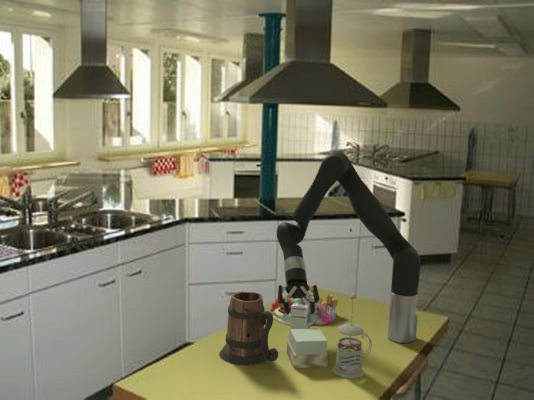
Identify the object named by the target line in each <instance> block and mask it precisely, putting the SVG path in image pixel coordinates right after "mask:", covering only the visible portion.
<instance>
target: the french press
mask: <svg viewBox="0 0 534 400" xmlns="http://www.w3.org/2000/svg"><path fill="white" fill-rule="evenodd" d="M349 299H351V300H356V299H357V296H356V294H354V293H353V294H350V296H349ZM351 308H352V309H351V313H354V312H353V311H354V310H353V309H354V302H352V306H351ZM350 318H351V320H350V323H344V324H341V325H339V326H338V327H337V330H338V332H339V333H340V334H342V335H344V336H349V337H342V338H340V339H338V344H336V346H337V347H336V361H335V362H336V365H335V366H334V367H333V368H332V372H333V373H334V374H335V375H336V376H338V377H340V378H344V379H345V378H346V379H358V377H359V378H361V377H363V376H364V374H365V371H364V370H363V367H362V366H363V358H365V357H366V356H368V355H369V354H370V353H371V351H372V348H373V343H372V339H371V338H370V335H368V334H367V333H365V330H364V328H363V327H361V325H358V324H356V323H353V317H350ZM358 336H361V338H362V339H364V337H367V338H368V341H369V343H370V344H369V346H368V348H367V350H366V351H365V352H364V353H363V348H362V344H363V343H362V341H361V339H358V338H355V337H358ZM342 348H343V349H342ZM366 353H367V354H366ZM365 354H366V355H365ZM362 375H363V376H362Z"/></svg>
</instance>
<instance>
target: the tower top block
mask: <svg viewBox="0 0 534 400" xmlns="http://www.w3.org/2000/svg"><path fill="white" fill-rule="evenodd" d="M289 343H290V345H291V347H292V349H293V351H294V353H295V355H314V354H328V339H327V338H326V337H325V335H324V333H323V332H322V330H321V329H320V328H309V329H290V328H289Z"/></svg>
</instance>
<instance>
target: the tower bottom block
mask: <svg viewBox="0 0 534 400" xmlns="http://www.w3.org/2000/svg"><path fill="white" fill-rule="evenodd" d="M286 356H287V357H288V360H289V361H290V363H291V367H292V368H293V369H301V368H302V369H305V368H307V369H308V368H328V363H329V354H328V353H327V354H314V355H295V353H294V351H293V349H292V347H291V345H290V343H289V341H287V342H286Z"/></svg>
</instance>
